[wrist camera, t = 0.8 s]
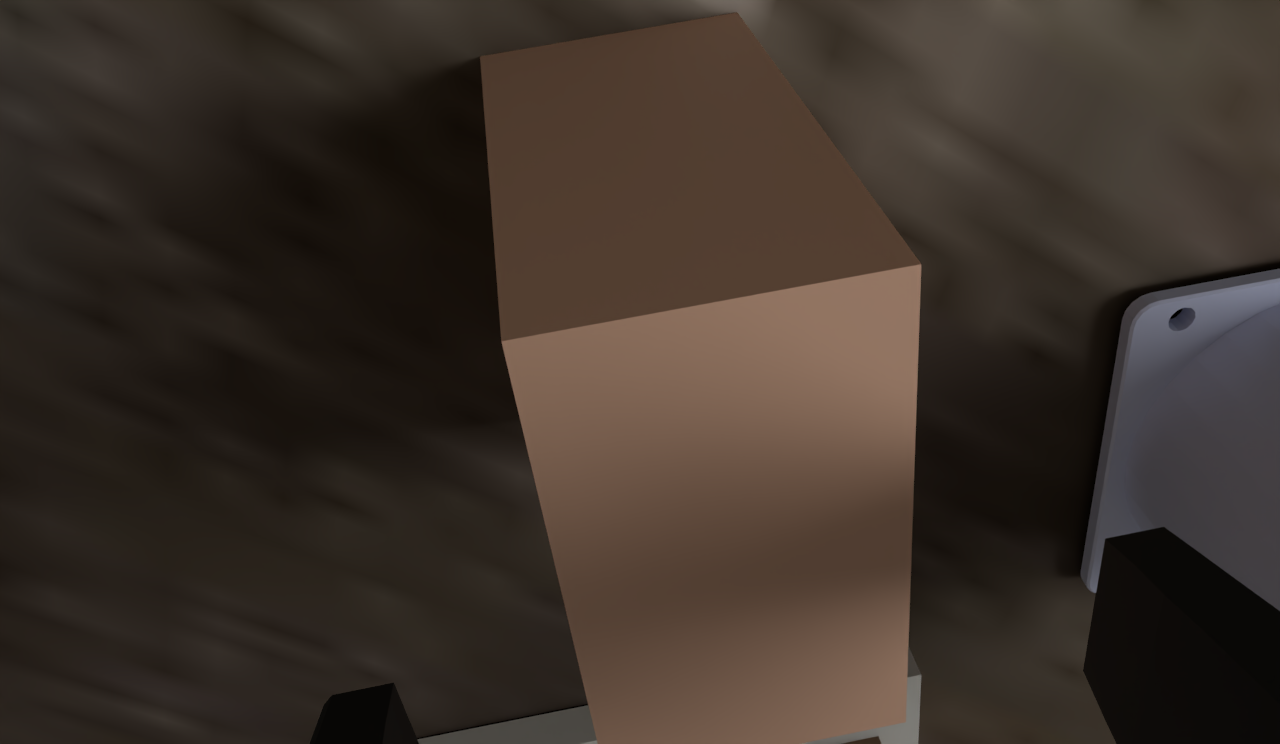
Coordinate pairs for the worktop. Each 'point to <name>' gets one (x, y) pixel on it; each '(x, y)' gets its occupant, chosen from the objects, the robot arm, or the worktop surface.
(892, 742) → the cradle
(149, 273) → the worktop surface
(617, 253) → the key block
